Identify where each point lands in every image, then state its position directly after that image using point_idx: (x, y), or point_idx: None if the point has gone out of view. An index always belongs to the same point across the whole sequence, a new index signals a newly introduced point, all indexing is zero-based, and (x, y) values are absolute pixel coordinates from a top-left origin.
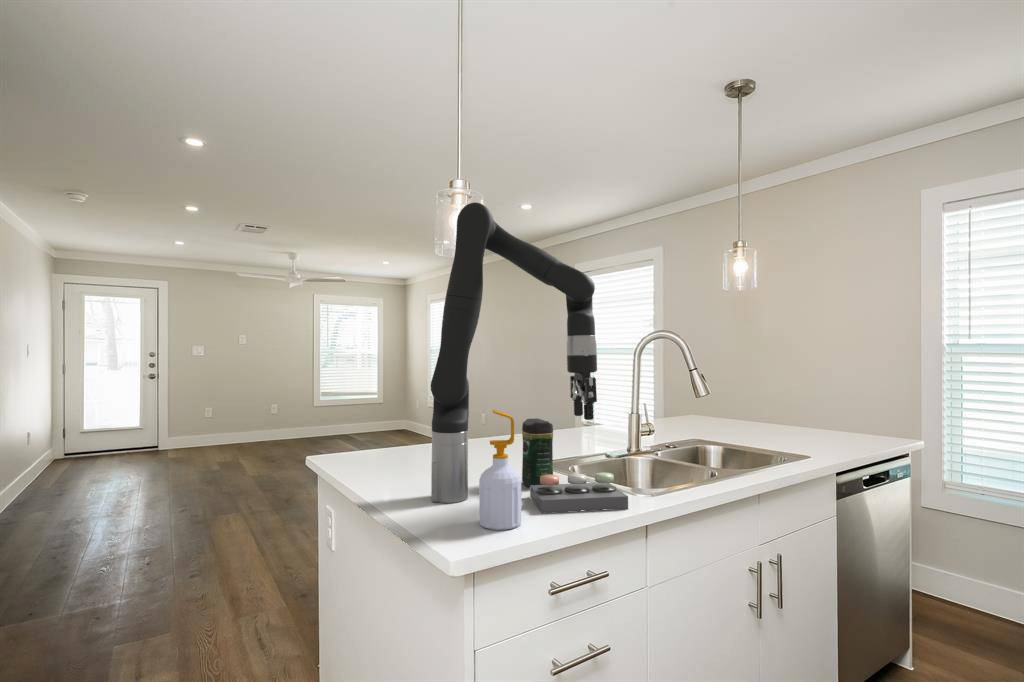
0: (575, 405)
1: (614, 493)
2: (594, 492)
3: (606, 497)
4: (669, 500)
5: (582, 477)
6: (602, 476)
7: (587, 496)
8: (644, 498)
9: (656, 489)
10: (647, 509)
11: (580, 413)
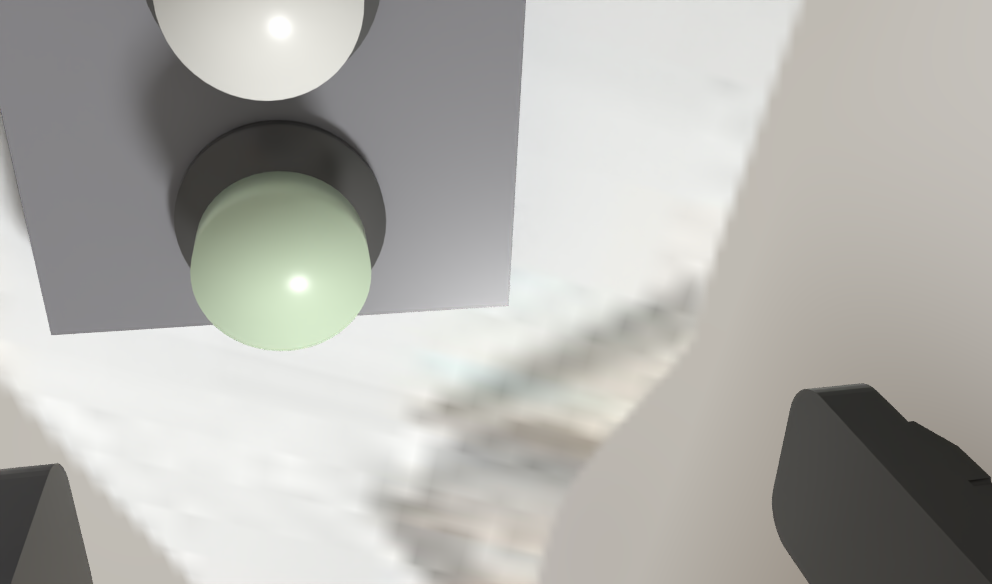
0: (942, 560)
1: (143, 260)
2: (183, 110)
3: (13, 165)
4: (273, 560)
5: (164, 34)
6: (199, 241)
7: (36, 6)
8: (335, 447)
9: (526, 555)
10: (66, 399)
11: (801, 512)
